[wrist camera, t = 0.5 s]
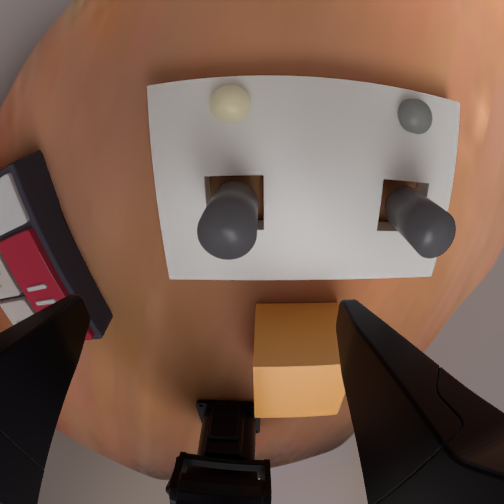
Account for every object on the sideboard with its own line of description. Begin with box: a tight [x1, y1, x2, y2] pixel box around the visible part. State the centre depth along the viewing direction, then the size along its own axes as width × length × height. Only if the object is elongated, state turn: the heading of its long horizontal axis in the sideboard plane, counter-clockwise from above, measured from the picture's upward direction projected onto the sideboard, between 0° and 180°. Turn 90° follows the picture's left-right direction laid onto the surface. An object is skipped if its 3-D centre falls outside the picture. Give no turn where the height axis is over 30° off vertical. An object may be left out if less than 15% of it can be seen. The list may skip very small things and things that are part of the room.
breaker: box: [385, 186, 456, 258], centre depth 14 cm, size 3×3×4 cm
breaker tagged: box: [197, 181, 258, 260], centre depth 15 cm, size 3×3×4 cm
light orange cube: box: [253, 302, 345, 418], centre depth 20 cm, size 6×6×6 cm
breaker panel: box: [147, 75, 460, 280], centre depth 16 cm, size 12×18×2 cm, turn 91°
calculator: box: [0, 151, 113, 340], centre depth 19 cm, size 11×4×15 cm
